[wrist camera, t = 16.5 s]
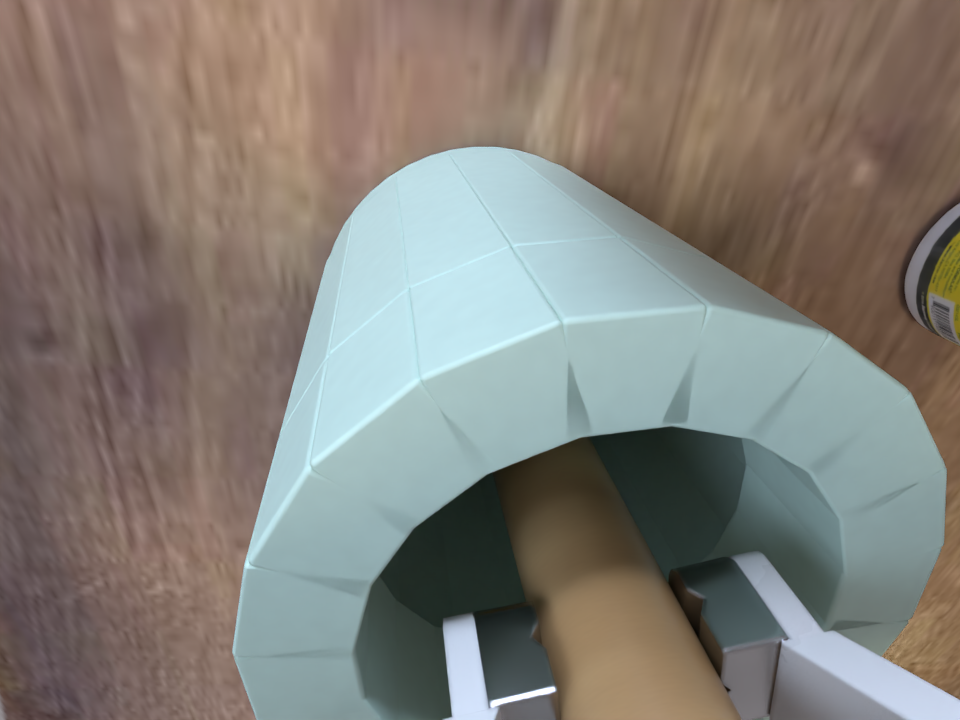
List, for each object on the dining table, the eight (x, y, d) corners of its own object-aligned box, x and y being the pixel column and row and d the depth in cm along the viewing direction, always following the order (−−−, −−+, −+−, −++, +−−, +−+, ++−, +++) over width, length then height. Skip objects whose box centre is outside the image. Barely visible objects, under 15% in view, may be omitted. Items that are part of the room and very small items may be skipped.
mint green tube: (348, 449, 24) (311, 877, 11) (295, 158, 18) (123, 364, 6) (617, 417, 25) (847, 771, 13) (639, 135, 20) (1066, 268, 7)
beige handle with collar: (439, 403, 21) (561, 1149, 7) (416, 286, 19) (520, 1008, 4) (561, 380, 21) (930, 1045, 7) (552, 262, 19) (1051, 868, 5)
